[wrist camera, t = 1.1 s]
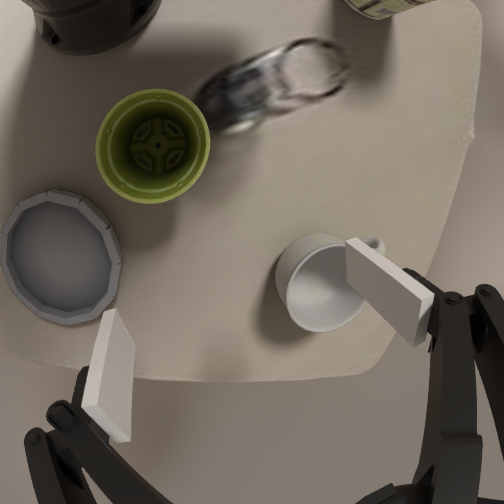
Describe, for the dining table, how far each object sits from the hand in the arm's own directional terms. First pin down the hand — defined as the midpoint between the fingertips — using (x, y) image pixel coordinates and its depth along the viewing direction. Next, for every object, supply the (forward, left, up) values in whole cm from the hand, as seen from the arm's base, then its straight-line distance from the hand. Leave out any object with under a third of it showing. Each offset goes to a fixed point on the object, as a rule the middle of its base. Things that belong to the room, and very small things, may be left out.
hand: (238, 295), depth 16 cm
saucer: (+1, -18, -19) cm, 26 cm away
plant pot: (-8, -3, -19) cm, 21 cm away
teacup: (+10, +13, -19) cm, 25 cm away
